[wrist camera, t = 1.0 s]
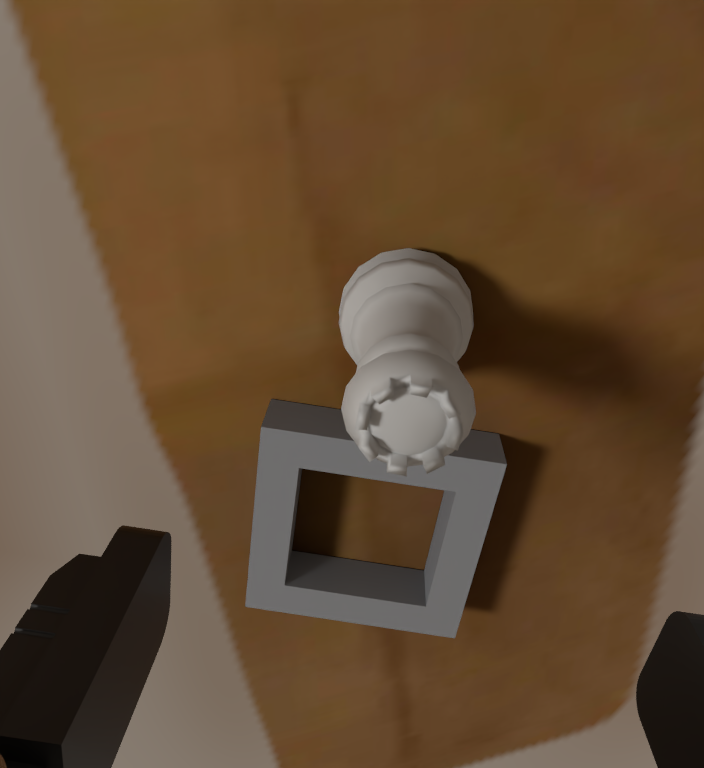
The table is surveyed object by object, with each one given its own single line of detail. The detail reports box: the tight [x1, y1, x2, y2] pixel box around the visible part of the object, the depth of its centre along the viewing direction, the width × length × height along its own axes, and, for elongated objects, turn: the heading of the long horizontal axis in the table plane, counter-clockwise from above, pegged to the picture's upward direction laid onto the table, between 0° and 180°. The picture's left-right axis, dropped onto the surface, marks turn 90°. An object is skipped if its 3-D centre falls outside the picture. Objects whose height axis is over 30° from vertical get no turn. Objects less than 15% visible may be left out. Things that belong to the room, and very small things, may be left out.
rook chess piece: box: [339, 248, 476, 477], centre depth 19 cm, size 4×4×8 cm
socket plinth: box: [245, 399, 507, 638], centre depth 25 cm, size 8×8×2 cm
